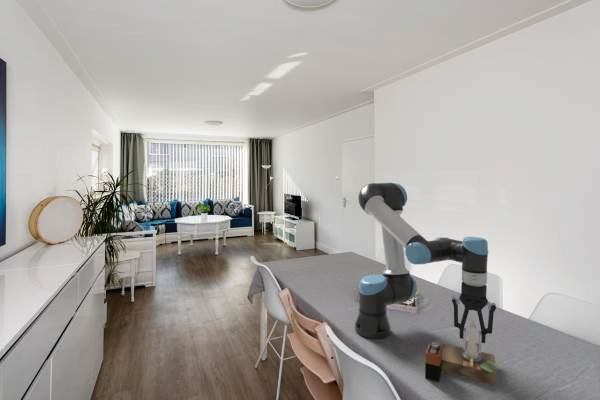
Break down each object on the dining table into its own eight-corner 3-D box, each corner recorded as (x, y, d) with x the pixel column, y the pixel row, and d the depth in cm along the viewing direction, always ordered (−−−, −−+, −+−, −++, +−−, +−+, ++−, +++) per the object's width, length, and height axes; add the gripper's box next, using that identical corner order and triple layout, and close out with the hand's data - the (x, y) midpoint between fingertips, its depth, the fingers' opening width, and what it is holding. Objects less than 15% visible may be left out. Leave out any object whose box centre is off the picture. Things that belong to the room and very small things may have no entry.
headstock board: (428, 368, 110) (429, 357, 110) (432, 351, 122) (433, 340, 121) (501, 387, 100) (502, 374, 100) (498, 366, 112) (499, 355, 111)
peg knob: (461, 365, 105) (462, 330, 104) (462, 350, 114) (463, 318, 114) (482, 370, 102) (483, 334, 102) (481, 355, 112) (482, 321, 111)
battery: (441, 372, 108) (442, 344, 108) (439, 383, 103) (439, 353, 102) (428, 368, 111) (428, 340, 110) (424, 379, 105) (425, 349, 104)
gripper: (445, 282, 109) (444, 348, 111) (504, 290, 101) (502, 361, 102) (447, 276, 116) (445, 338, 117) (502, 283, 108) (500, 350, 109)
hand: (471, 349), depth 110 cm, fingers closed on peg knob, 4 cm apart
